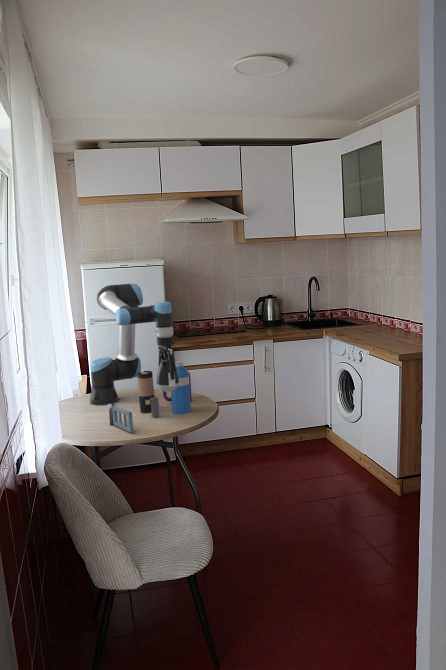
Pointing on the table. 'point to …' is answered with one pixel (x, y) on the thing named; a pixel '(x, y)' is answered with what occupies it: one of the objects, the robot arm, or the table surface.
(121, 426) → the gate
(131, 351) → the robot arm
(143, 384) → the travel mug
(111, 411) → the hinge post
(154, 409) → the latch post
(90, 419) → the table surface
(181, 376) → the water bottle
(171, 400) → the mug
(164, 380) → the pump dispenser
